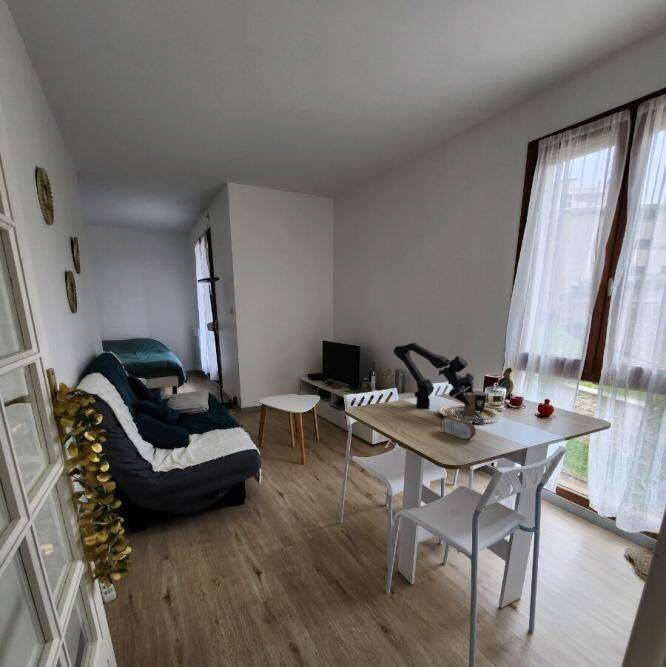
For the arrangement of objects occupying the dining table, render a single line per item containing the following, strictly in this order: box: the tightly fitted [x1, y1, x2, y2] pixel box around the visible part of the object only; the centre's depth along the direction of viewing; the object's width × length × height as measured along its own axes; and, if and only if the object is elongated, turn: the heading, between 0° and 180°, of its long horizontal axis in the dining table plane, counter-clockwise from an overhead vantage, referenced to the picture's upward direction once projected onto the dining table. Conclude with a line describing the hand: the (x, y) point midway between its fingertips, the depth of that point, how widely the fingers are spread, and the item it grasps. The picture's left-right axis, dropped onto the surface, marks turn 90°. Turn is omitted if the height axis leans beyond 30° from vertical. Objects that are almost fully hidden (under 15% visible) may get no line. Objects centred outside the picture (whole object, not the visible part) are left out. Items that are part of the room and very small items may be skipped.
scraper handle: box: [462, 393, 476, 417], centre depth 162 cm, size 5×5×13 cm
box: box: [454, 409, 485, 425], centre depth 162 cm, size 11×11×3 cm
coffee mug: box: [473, 390, 488, 413], centre depth 176 cm, size 12×9×10 cm
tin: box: [440, 414, 476, 441], centre depth 142 cm, size 15×3×8 cm, turn 44°
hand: (472, 402), depth 160 cm, fingers open, 9 cm apart
